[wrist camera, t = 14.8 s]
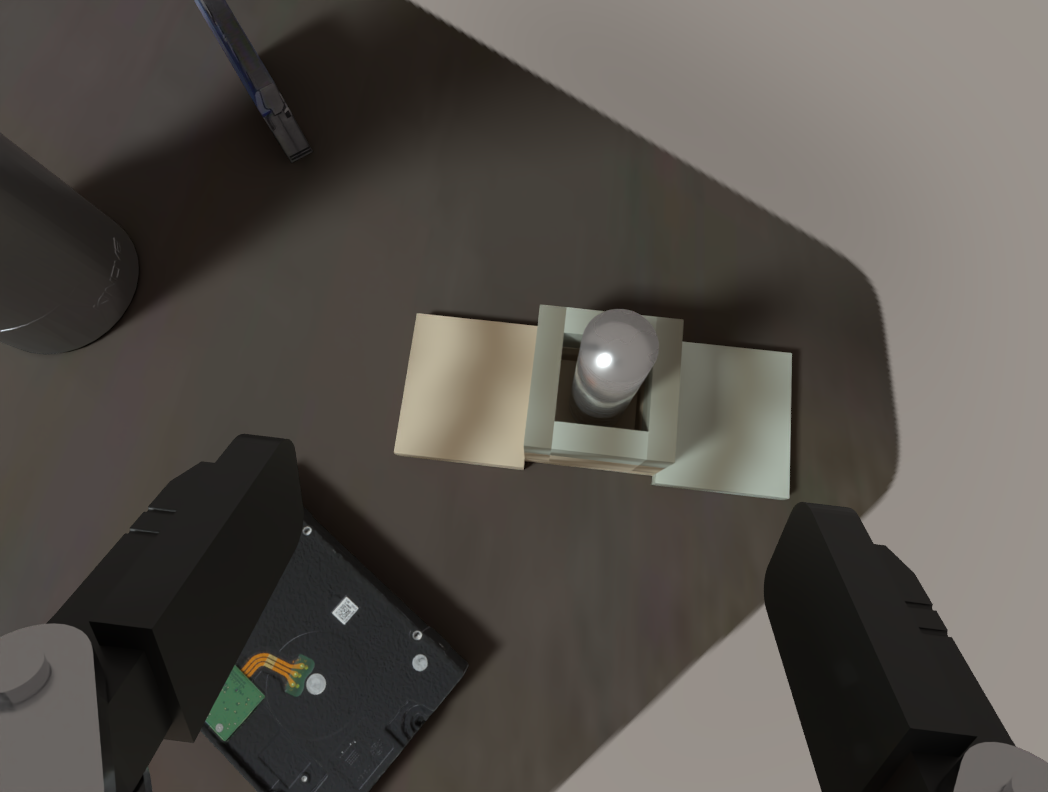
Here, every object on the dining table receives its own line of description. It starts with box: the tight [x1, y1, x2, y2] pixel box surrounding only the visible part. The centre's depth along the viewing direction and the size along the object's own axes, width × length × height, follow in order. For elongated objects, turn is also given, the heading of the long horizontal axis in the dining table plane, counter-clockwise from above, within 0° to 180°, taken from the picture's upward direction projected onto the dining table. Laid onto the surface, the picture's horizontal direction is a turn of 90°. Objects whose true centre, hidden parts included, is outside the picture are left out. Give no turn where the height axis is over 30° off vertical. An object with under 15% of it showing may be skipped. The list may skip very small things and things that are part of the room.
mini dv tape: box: [195, 0, 313, 163], centre depth 37 cm, size 8×2×6 cm, turn 31°
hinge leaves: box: [394, 305, 792, 500], centre depth 32 cm, size 21×8×6 cm, turn 83°
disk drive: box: [200, 507, 468, 792], centre depth 31 cm, size 10×3×15 cm
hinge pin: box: [569, 309, 659, 427], centre depth 29 cm, size 3×3×10 cm
